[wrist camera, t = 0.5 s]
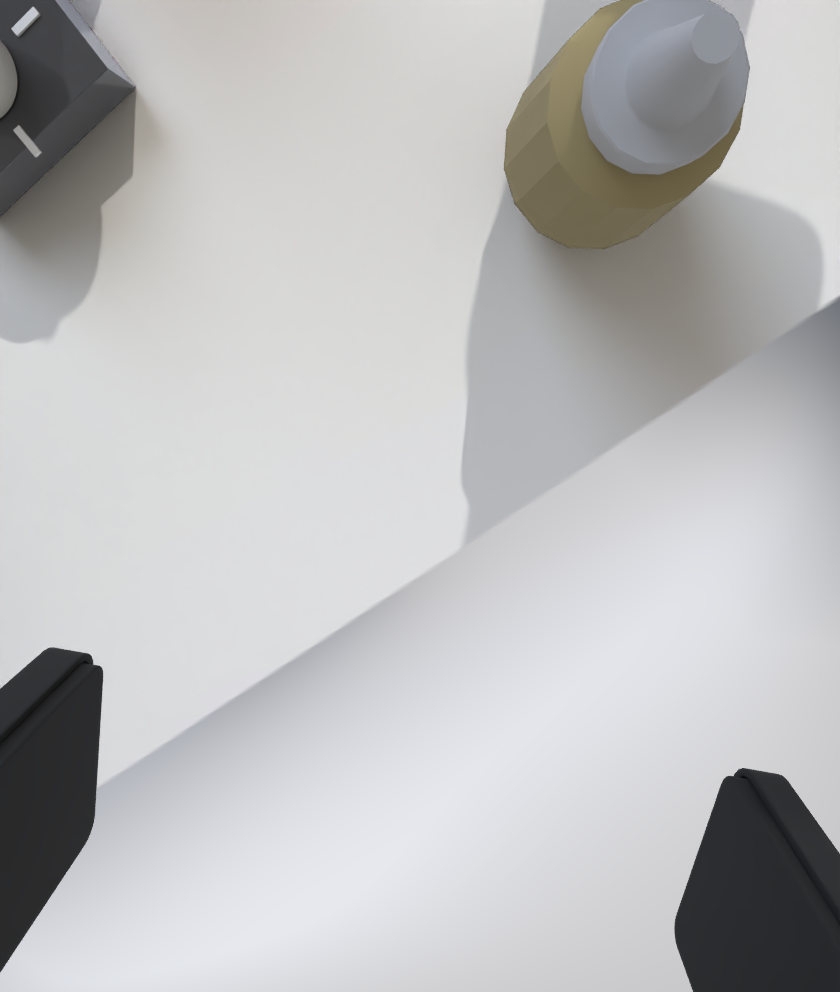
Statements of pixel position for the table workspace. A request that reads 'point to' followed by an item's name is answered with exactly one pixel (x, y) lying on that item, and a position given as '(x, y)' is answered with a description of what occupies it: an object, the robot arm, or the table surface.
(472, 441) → the table surface
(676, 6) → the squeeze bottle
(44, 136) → the hot plate
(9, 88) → the hob knob
